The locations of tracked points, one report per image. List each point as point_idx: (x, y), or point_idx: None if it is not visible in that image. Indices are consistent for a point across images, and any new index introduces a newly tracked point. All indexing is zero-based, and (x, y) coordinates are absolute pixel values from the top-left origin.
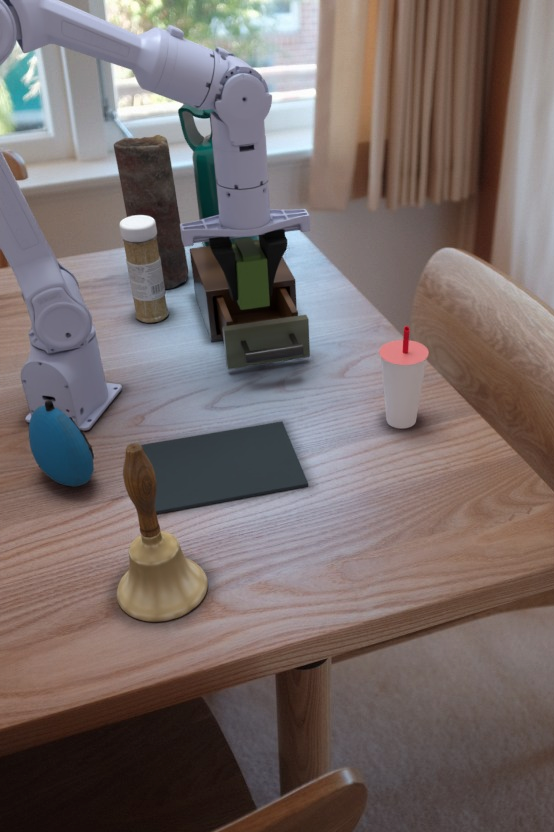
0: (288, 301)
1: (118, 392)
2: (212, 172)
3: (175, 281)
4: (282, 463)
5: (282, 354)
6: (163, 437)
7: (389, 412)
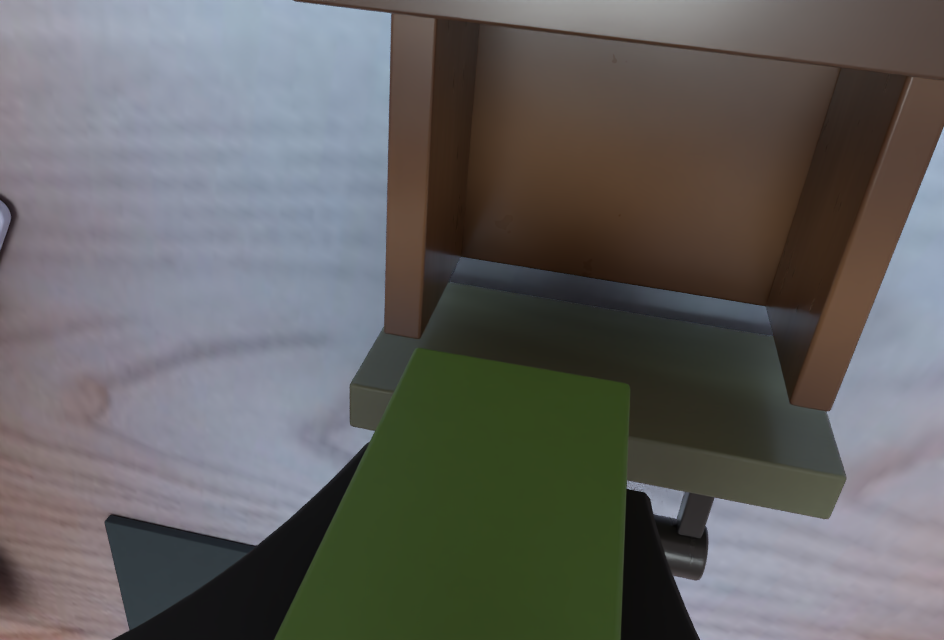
0: (854, 273)
1: (1, 241)
2: None
3: None
4: None
5: None
6: (167, 501)
7: None
